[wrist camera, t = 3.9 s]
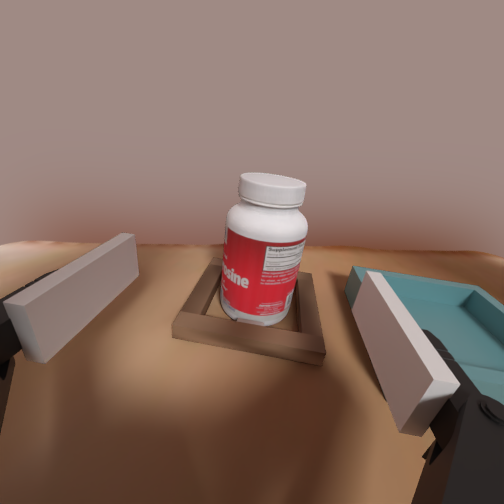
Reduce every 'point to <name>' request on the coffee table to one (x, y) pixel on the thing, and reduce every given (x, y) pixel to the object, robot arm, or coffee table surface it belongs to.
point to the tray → (452, 322)
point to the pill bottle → (263, 248)
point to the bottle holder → (252, 323)
